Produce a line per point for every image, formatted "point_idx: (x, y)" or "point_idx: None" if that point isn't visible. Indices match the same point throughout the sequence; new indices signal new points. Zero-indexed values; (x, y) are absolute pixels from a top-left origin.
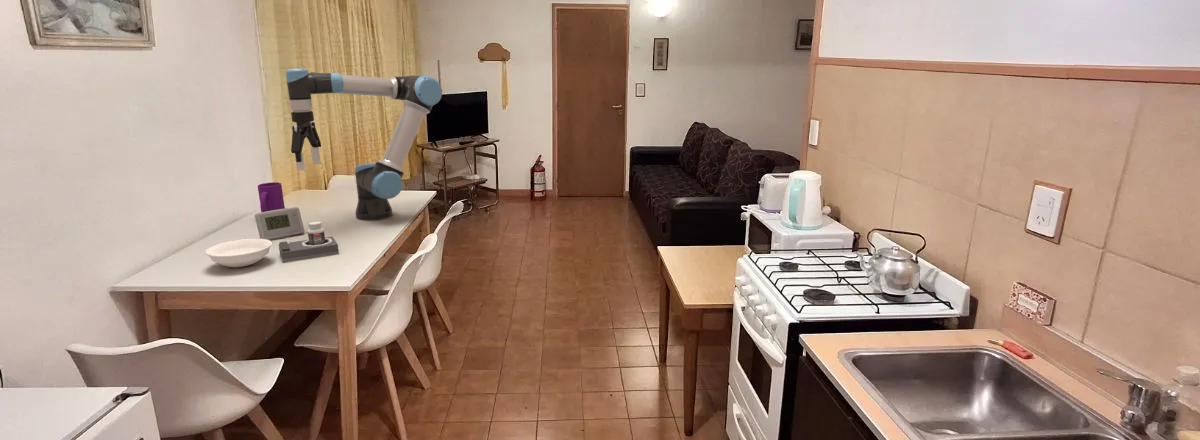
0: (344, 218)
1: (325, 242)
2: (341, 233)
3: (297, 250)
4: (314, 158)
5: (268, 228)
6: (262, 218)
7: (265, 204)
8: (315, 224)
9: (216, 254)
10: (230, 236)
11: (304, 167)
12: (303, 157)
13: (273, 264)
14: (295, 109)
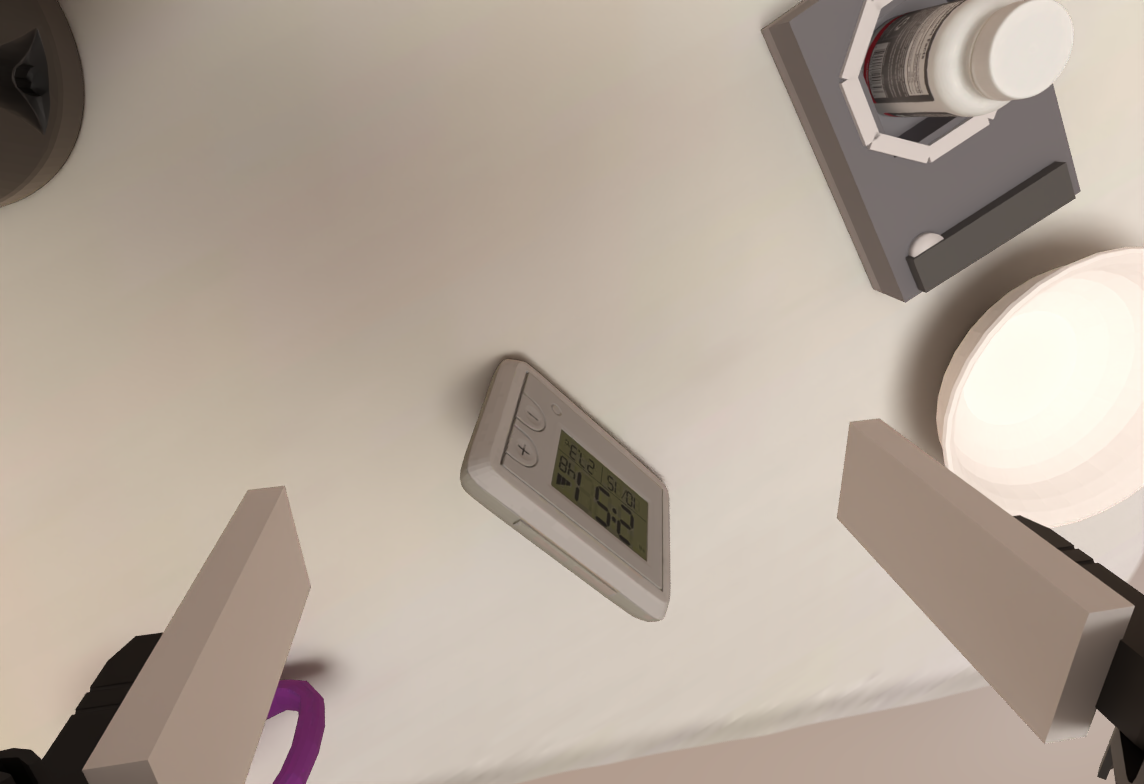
0: (71, 284)
1: (917, 10)
2: (479, 110)
3: (1059, 116)
4: (273, 628)
5: (642, 507)
6: (656, 567)
7: (294, 752)
8: (1070, 24)
9: (1031, 487)
10: (561, 675)
11: (891, 441)
12: (1005, 542)
13: (1050, 219)
14: None
